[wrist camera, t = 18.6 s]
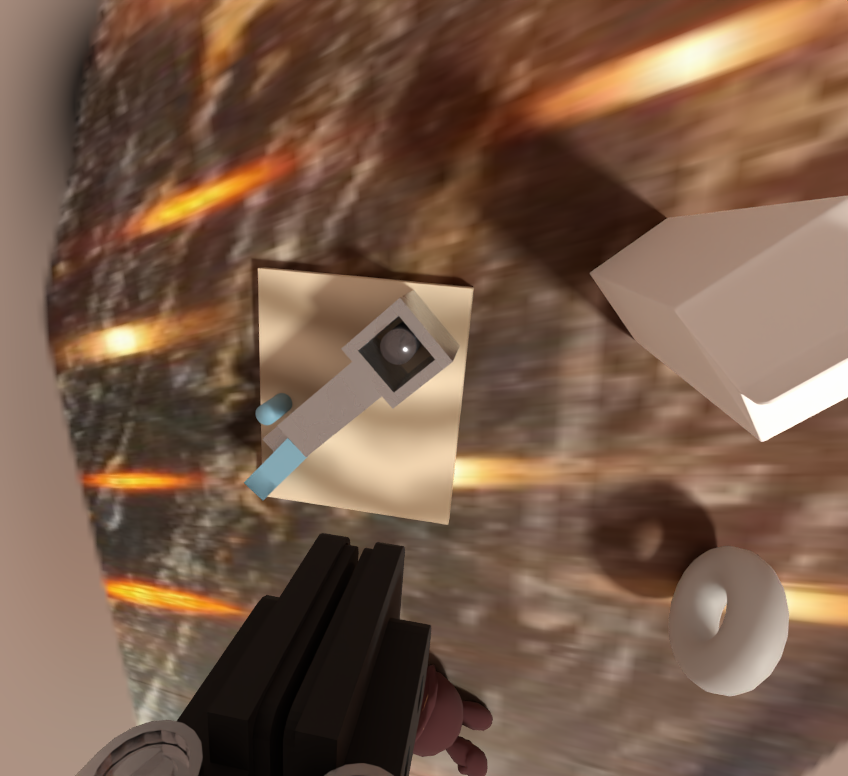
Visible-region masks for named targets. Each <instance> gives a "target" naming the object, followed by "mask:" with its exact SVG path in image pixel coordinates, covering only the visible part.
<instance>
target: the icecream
mask: <svg viewBox="0 0 848 776" xmlns="http://www.w3.org/2000/svg"><path fill="white" fill-rule="evenodd" d="M492 720H493V718H492V715H491V713H490V711H489V710H488V709H486V708H485V707H483V706H482V705H480V704H479V703H477V702H471V701H466V700H465V701H461V698H460V695H459V693H458V692H457V690H456V689H455V687H454V686H453V685H452V684H451V683H450V682H449V681H448V680H447V679H446V678H445V677H444V676H443V675H442V674H441V673H440V672H436V670H435V666H434V665H430V666H427V673H426V681H425V687H424V694H423V700H422V706H421V711H420V717H419V722H418V728H417V733H416V739H415V744H414V749H413V754H416V755H419V756H422V757H424V756H434V755H436V754H438V753H439V752H441V751H443V750H445V749H446V751H447V752H448V754H449V755H450V756H451V758H452V759H453V761H454V762H455V763H457V764H458V770H459V772H460V773H461V774H465V775H468V776H485V775H486V773H487V759H486V756H485V754H484V752H483V751H481V750H480V749H479V748H478V747H477V746H475V745H474V744H472V742H471V741H470V740H466V739H464V738H463V737H459V736H458V735H459V733H460V730H461V727H462V725H464V726H466V727H468V728H470V729H472V730H483V731H484V730H486V729H487V728H489V727H490V726H491V724H492Z"/></svg>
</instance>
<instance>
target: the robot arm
mask: <svg viewBox="0 0 848 776" xmlns="http://www.w3.org/2000/svg"><path fill="white" fill-rule="evenodd" d="M404 556H405V548H404V546H398V545H392V544H386V543H380V542H377V543H376V544H375V546H374V548H373V549H369V548H365V549H364V550H363V552H362V554H361V557H360V559H359V561H358V547H357V546H351V545H350V539H349V538H348V537H343V536H337V535H331V534H325V533H321V534H320V535H319V536H318V538H317V539H316V541H315V542H314V544H313V546H312V547H311V549H310V550H309V552H308V553H307V555H306V557H305V558H304V560H303V561H302V563H301V564H300V566H299V568H298V569H297V571H296V572H295V574H294V575H293V577H292V579H291V580H290V582H289V583H288V585H287V586H286V588H285V590H284V591H283V593H282V594H281V596H280V597H274V596H269V595H266V596H264V597H262V599H261V600H260V601H259V602H258V603H257V605H256V606H255V608H254V609H253V611H252V612H251V613H250V615H249V616H248V618H247V619H246V621H245V622H244V624H243V625H242V627H241V628H240V630H239V631H238V632H237V634H236V635H235V637H234V638H233V640H232V641H231V643H230V644H229V646H228V647H227V649H226V650H225V651H224V653H223V654H222V656H221V657H220V659H219V660H218V662H217V663H216V665H215V666H214V668H213V669H212V670H211V672H210V673H209V675H208V676H207V678H206V679H205V681H204V682H203V684H202V685H201V687H200V688H199V689H198V691H197V692H196V694H195V695H194V697H193V698H192V700H191V701H190V703H189V704H188V705H187V707H186V708H185V710H184V711H183V713H182V714H181V716H180V717H179V719H178V720H177V722H176V721H171V720H161V721H151V722H148V723H145V724H142V725H139V726H136V727H133V728H131V729H129V730H128V731H126V732H124V733H122V734H121V735H119V736H117V737H116V738H114V739H113V740H112V741H110V742H109V743H108V744H107V745H106V746H105V747H103V748H102V749H101V750H100V751H99V752H98V753H97V754H96V755H95V756H94V757H93V758H92V759H91V760H90V761H89V762H88V763H87V764H86V765H85V766H84V767H83V768H82V769H81V770H80V771H79V772H78V773H77V774H76V775H75V776H409V771H410V766H411V760H412V755H413V749H414V744H415V739H416V733H417V728H418V722H419V717H420V711H421V706H422V700H423V694H424V687H425V681H426V673H427V666H428V657H429V648H430V638H431V625H427V624H422V623H416V622H411V621H405V620H400V608H401V595H402V582H403V569H404Z"/></svg>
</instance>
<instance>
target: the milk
mask: <svg viewBox="0 0 848 776" xmlns="http://www.w3.org/2000/svg"><path fill="white" fill-rule="evenodd" d="M590 275H591V277H592V278H593V280H594V281H595V282H596V284H597V285H598V287H599V288H600V290H601V291H602V293H603V294H604V296H605V297H606V299H607V300H608V301H609V303H610V304H611V306H612V307H613V309H614V310H615V312H616V313H617V315H618V316H619V318H620V319H621V320H622V322H623V323H624V325H625V326H626V328H627V329H628V331H629V332H630V334H631V335H632V337H633V338H634V339H635V341H636V342H638V343H639V344H640V345H641V346H643V347H644V348H645V349H646V350H648V351H649V352H650V353H651V354H653V355H654V356H655V357H656V358H658V359H659V360H660V361H661V362H663V363H664V364H665V365H666V366H668V367H669V368H670V369H671V370H673V371H674V372H675V373H676V374H677V375H679V376H680V377H681V378H682V379H684V380H685V381H686V382H687V383H689V384H690V385H691V386H692V387H694V388H695V389H696V390H697V391H699V392H700V393H701V394H702V395H704V396H705V397H706V398H707V399H709V400H710V401H711V402H712V403H714V404H715V405H716V406H717V407H719V408H720V409H721V410H722V411H724V412H725V413H726V414H727V415H728V416H730V417H731V418H732V419H733V420H735V421H736V422H737V423H738V424H740V425H741V426H742V427H743V428H745V429H746V430H747V431H748V432H750V433H751V434H752V435H753V436H755V437H756V438H757V439H758V440H760V441H761V442H763V441H766V440H768V439H770V438H771V437H773V436H775V435H777V434H779V433H781V432H783V431H785V430H787V429H788V428H790V427H792V426H794V425H796V424H798V423H800V422H802V421H804V420H805V419H807V418H809V417H811V416H813V415H815V414H817V413H819V412H821V411H822V410H824V409H826V408H828V407H830V406H832V405H834V404H836V403H838V402H839V401H841V400H843V399H845V398H847V397H848V196H841V197H833V198H825V199H817V200H809V201H801V202H793V203H785V204H777V205H768V206H760V207H752V208H744V209H736V210H728V211H720V212H712V213H704V214H696V215H688V216H680V217H672V218H667V219H665V220H664V221H662V222H661V223H660V224H658V225H657V226H655V227H654V228H652V229H651V230H650V231H648V232H647V233H645V234H644V235H642V236H641V237H640V238H638V239H637V240H635V241H634V242H633V243H631V244H630V245H628V246H627V247H625V248H624V249H623V250H621V251H620V252H618V253H617V254H615V255H614V256H613V257H611V258H610V259H608V260H607V261H605V262H604V263H603V264H601V265H600V266H598V267H597V268H596V269H594V270H593V271H591V272H590Z"/></svg>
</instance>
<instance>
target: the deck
mask: <svg viewBox="0 0 848 776" xmlns="http://www.w3.org/2000/svg"><path fill="white" fill-rule="evenodd" d="M413 290H415V292H416V293H417V294H418V295H419V296H420V298H421V299H422V300H423V301H424V302H425V304H426V305H427V306H428V307H429V309H430V310H431V311H432V312H433V313H434V315H435V316H436V317H437V318H438V320H439V321H440V322H441V323H442V324H443V326H444V327H445V328H446V329H447V330H448V332H449V333H450V334H451V335H452V337H453V338H454V339H455V340H456V341H457V343H458V344H459V345H460V347H459V349H458V351H457V354H456V356H455V358H454V360H453V362H452V363H451V364H449V365H448V366H447V367H446V368H444V369H443V370H442V371H440V372H439V373H438V374H437V375H435V376H434V377H433V378H432V379H430V380H429V381H428V382H426V383H425V384H424V385H423V386H421V387H420V388H419V389H418V390H416V391H415V392H414V393H412V394H411V395H410V396H409V397H407V398H406V399H405V400H404V401H402V402H401V403H400V404H398V405H397V406H396V407H395V408H393V409H392V407H391V406H390V405H389V404H388V403H387V402H386V400H385V399H384V398H383V397H381V398H379V399H378V400H377V401H376V402H374V403H373V404H372V405H371V406H369V407H368V408H367V409H366V410H364V411H363V412H362V413H361V414H359V415H358V416H357V417H356V418H354V419H353V420H352V421H351V422H349V423H348V424H347V425H346V426H344V427H343V428H342V429H341V430H339V431H338V432H337V433H336V434H334V435H333V436H332V437H331V438H329V439H328V440H327V441H326V442H325V443H323V444H322V445H321V446H320V447H318V448H317V449H316V450H315V451H313V452H312V453H311V454H310V455H309V456H308V457H307V458H306V459H305V460H304V461H303V462H302V463H301V464H300V465H299V466H298V467H297V468H296V469H295V470H294V471H293V472H292V473H291V474H290V475H289V476H288V477H287V478H286V479H285V480H284V481H282V482H281V483H280V484H279V485H278V486H277V487H276V488H275V489H274V490H273V491H272V492H271V493H270V494H269V495H268V497H275V498H281V499H287V500H294V501H300V502H307V503H313V504H319V505H326V506H332V507H339V508H345V509H351V510H358V511H364V512H371V513H377V514H383V515H390V516H396V517H403V518H409V519H415V520H422V521H428V522H435V523H441V524H447V525H448V522H449V517H450V508H451V499H452V489H453V480H454V470H455V461H456V451H457V442H458V432H459V423H460V413H461V404H462V395H463V385H464V376H465V366H466V357H467V347H468V338H469V328H470V319H471V310H472V300H473V291H474V287H467V286H456V285H446V284H435V283H425V282H414V281H404V280H393V279H383V278H372V277H362V276H351V275H340V274H330V273H319V272H309V271H298V270H288V269H277V268H267V267H264V268H258V297H259V347H260V397H261V405H262V404H263V403H265V402H266V401H268V400H269V399H271V398H272V397H274V396H275V395H277V394H279V393H285V394H287V395H288V396H289V397H290V398H291V400H292V408H291V409H290V410H289V411H288V412H287V413H285V414H284V415H283V416H282V417H280V418H279V419H278V420H276V421H275V422H274V423H273V424H271V425H263V424H261V447H262V464H263V463H264V462H265V461H266V460H267V459H268V458H269V457H270V456H271V455H272V454H273V453H274V452H273V450H272V449H271V448H270V447H269V446H268V445H267V444H266V443H265V442H264V441H263V438H264V437H265V436H266V435H268V434H269V433H270V432H271V431H272V430H273V429H275V428H276V427H277V425H278V424H280V423H281V422H282V421H283V420H284V419H285V418H287V417H288V416H289V415H290V414H291V413H293V412H294V411H295V410H296V409H297V408H298V407H300V406H301V405H302V404H303V403H304V402H305V401H307V400H308V399H309V398H310V397H311V396H313V395H314V394H315V393H316V392H317V391H318V390H320V389H321V388H322V387H323V386H324V385H325V384H327V383H328V382H329V381H330V380H331V379H332V378H334V377H335V376H336V375H337V374H338V373H340V372H341V371H342V370H343V369H344V368H345V367H347V366H348V365H349V364H350V363H351V362H352V361H351V360H350V359H349V357H348V356H347V355H346V354H345V353H344V352H343V350H342V349H341V348H343V347H344V346H345V345H346V344H347V343H348V342H350V341H351V340H352V339H353V338H354V337H355V336H356V335H358V334H359V333H360V332H361V331H362V330H363V329H364V328H366V327H367V326H368V325H369V324H370V323H371V322H372V321H374V320H375V319H376V318H377V317H378V316H379V315H381V314H382V313H383V312H384V311H385V310H386V309H387V308H389V307H390V306H391V305H392V304H393V303H394V302H395V301H397V300H398V299H399V298H400V297H402V296H404V295H406V294H407V293H409V292H411V291H413ZM402 321H403V320H402V319H401V318H400V317H399V318H398V319H397V320H396V321H394V322H393V323H392V324H391V325H390V326H389V327H387V328H386V329H385V330H384V331H383V332H382V333H380V334H379V335H378V336H377V337H378V338H379V340H380V341H381V340H382V338H383V337H384V336H385V335H386V334H387V333H388V332H389V331H391V330H392V329H393V328H394V327H396V326H397V325H398V324H399V323H401V322H402ZM430 355H431V354H430V353H429V351H428V350H427V349H426V348H425V347H424V345H423V344H422V346H421V347H420V348H419V349H418V351H417V352H416V353H415V354H414V356H413V357H412V358H411V359H410V360H409V361H408V362H406V363H404V364H401V366H402V367H403V368H404V369H405V370H406V372H407V373H409V372H410V371H412V370H413V369H414V368H415V367H417V366H418V365H419V364H420V363H422V362H423V361H424V360H425V359H427V358H428V357H429V356H430Z"/></svg>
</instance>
